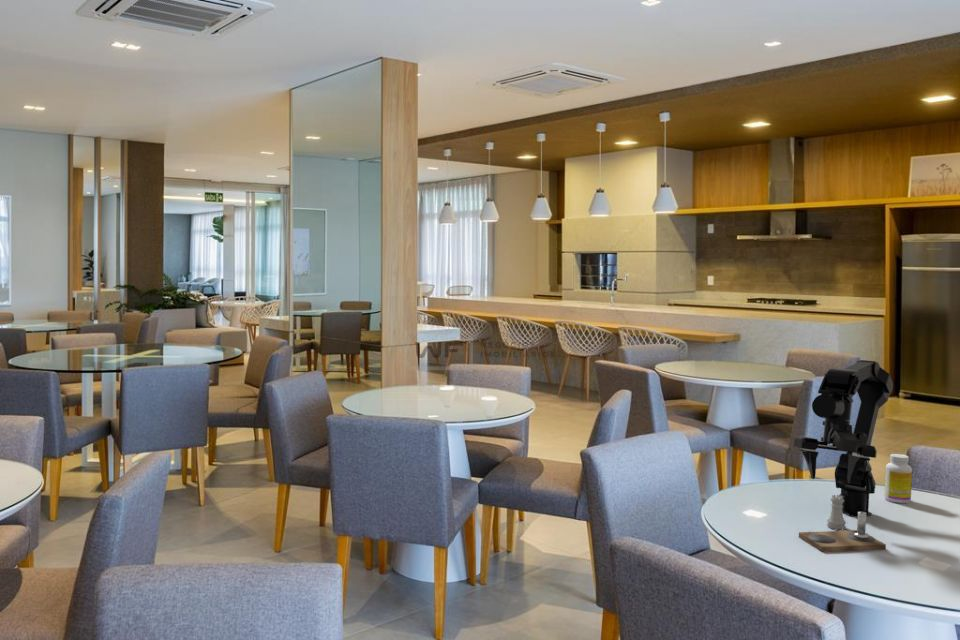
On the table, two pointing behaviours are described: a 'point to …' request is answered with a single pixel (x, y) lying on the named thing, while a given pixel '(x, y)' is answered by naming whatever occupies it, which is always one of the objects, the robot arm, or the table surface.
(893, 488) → the supplement bottle
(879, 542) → the board
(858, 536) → the point post
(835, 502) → the rook chess piece
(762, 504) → the table surface
